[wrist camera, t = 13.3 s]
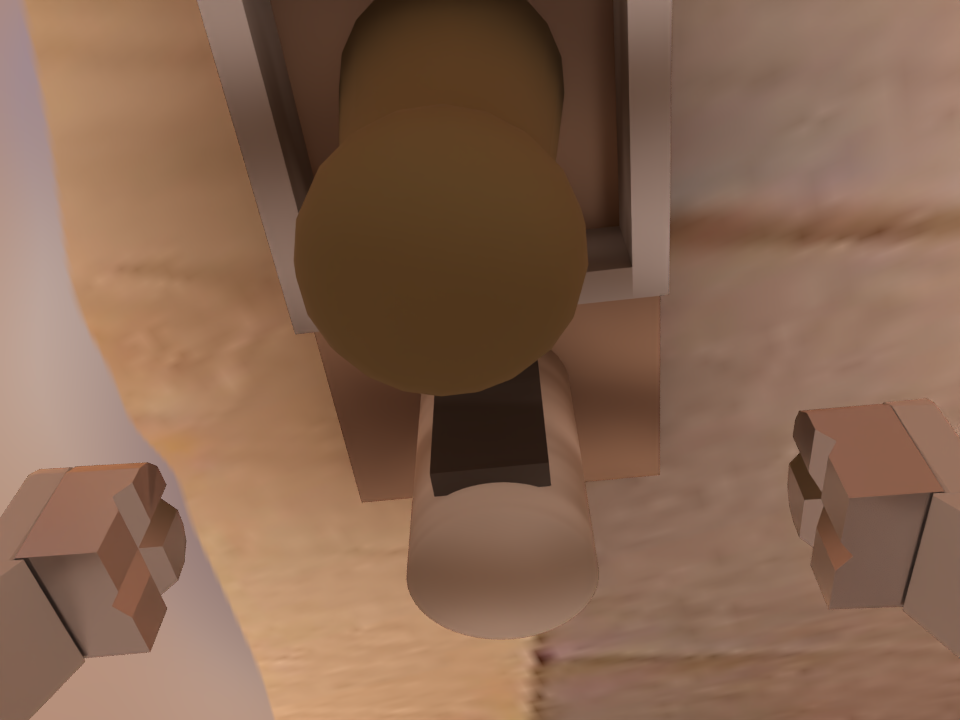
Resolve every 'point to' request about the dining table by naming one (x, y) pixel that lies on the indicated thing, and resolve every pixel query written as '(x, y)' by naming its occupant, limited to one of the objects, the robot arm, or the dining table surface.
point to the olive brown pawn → (444, 199)
